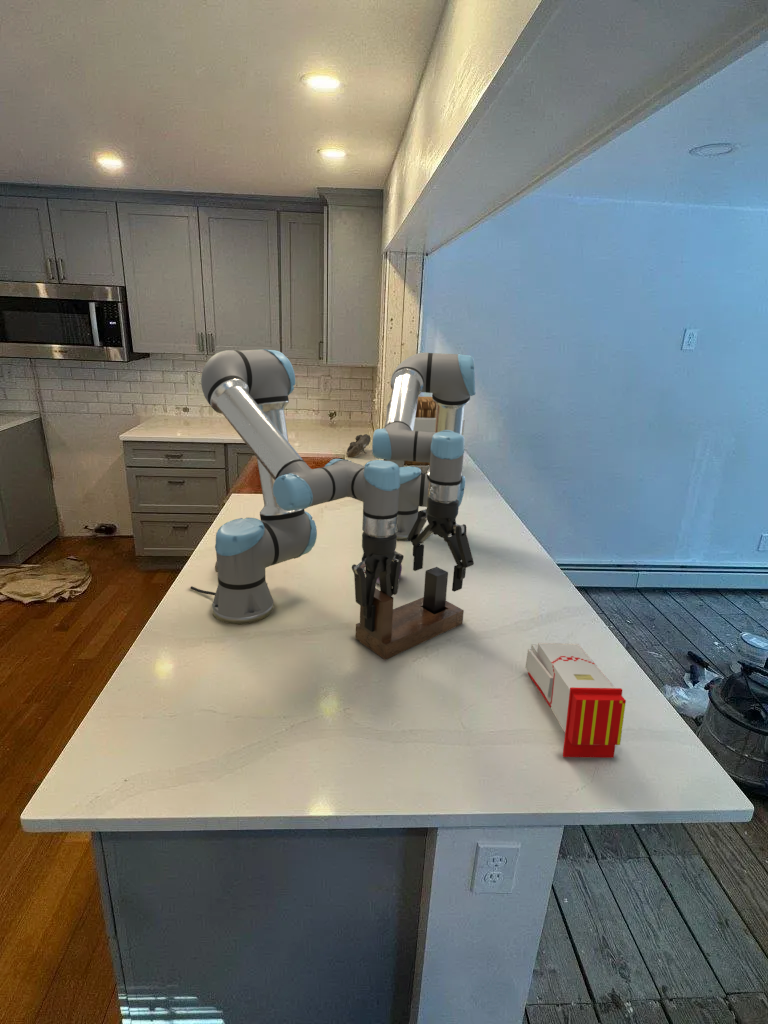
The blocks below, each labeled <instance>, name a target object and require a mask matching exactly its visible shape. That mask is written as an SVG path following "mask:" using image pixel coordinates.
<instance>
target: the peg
mask: <svg viewBox="0 0 768 1024" xmlns="http://www.w3.org/2000/svg"><path fill="white" fill-rule="evenodd" d="M448 579H449V571H446V570H445V569H443V568H441V567H438V566H434V567H432V568H429V569H426V570H425V573H424V586H423V597H424V599H423V608H424V609H426V610H428V611H429V612H431V613H433V614H437V613H439V612H441V611H444V610H445V603H446V601H447V590H448V582H449V581H448Z"/></svg>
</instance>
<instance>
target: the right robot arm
mask: <svg viewBox="0 0 768 1024" xmlns="http://www.w3.org/2000/svg"><path fill="white" fill-rule="evenodd" d="M475 363H476V362H475V358H474V357H473V356H472V355H469V354H461V353H442V352H441V353H437V352H418V353H415V354H413V355H410V356H409V357H407V358H405V359H404V360H403V361H401V362H400V363H399V364H398V365H397V366H396V367H395V369H394V370H393V372H392V375H391V378H390V389H391V395H390V398H389V401H390V403H389V402H388V403H389V408H388V413H387V417H386V416H385V422H384V426H383V428H377V429H375V430H374V431H373V434H372V444H371V445H372V446H371V452H372V456H373V457H374V458H375V459H377V460H384V459H387V460H399V461H416V462H429V463H430V466H429V467H428V469H427V472H422V469H421V468H420V467H419V466H418V467H417V466H404V467H399V469H400V489H399V500H398V520H397V531H396V534H397V540H396V541H408V542H411V544H412V557H413V564H412V571H414V572H416V571H420V570H422V569H423V568H424V555H425V544H424V542H425V541H426V540H427V539H428V538H429V537H430V536H431V535H432V534H433V535H435V536H438V537H440V538H442V539H443V541H444V542H445V543H446V544H447V546H448V548H449V551H450V553H451V556H452V557H453V559H454V562H455V564H456V565H454V566H453V575H452V586H451V591H452V592H454V593H455V592H457V591H459V590H462V589H463V581H464V579H465V578H466V572H467V568H470V567H472V566H474V565H475V562H474V557H473V554H472V550H471V546H470V543H469V539H468V535H467V525H466V524H465V523H463V524H458V523H457V520H456V519H457V517H458V515H459V509H460V506H461V505H462V502H463V497H464V493H465V489H466V477H465V475H463V473H462V472H463V464H464V455H465V451H466V450H465V436H464V435H463V436H462V435H461V433H462V424H463V419H464V412H465V405H467V404H468V403H470V400H471V397H473V396H475V395H476V364H475ZM421 393H426V394H431V397H432V399H433V400H434V401H435V402H436V403H437V405H436V419H435V432H422V431H413V429H414V422H415V416H416V409H417V402H418V397H419V395H421ZM420 507H421V508H422V507H423V508H425V509H421V510H419V508H420ZM427 522H428V524H427V525H426V523H427ZM425 525H426V526H425ZM424 526H425V527H424Z"/></svg>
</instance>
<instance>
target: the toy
mask: <svg viewBox="0 0 768 1024" xmlns="http://www.w3.org/2000/svg"><path fill="white" fill-rule="evenodd" d="M525 669H526V671H527V675H528V676H529V678H530V680H531V681H532V683H533V684H534V685H535V687H536V688H537V690H538V692H539V693H540V694H541V696H542V698H543V699H544V701H545V702H546V703H547V705H548V707H549V708H550V710H551V711H552V714H554V717H555V719H556V720H557V722H558V724H559V725H560V727H561V729H562V731H563V732H564V740H563V747H562V757H563V758H594V759H595V758H599V759H601V758H603V759H604V758H607V759H614V757H615V751H616V746H621V740H622V733H623V725H624V719H625V717H624V716H625V710H626V703H627V700H626V699H625V697H624V696H623V689H622V688H619V687H615V686H614V685H613V683H612V682H611V681H610V680H609V679H608V677H607V676H606V675H605V673H604V672H603V671H602V670H601V669H600V668H599V667H598V666H597V664H596V663H595V662H594V661H593V660H592V658H591V657H590V656H589V655H588V653H586V651H585V650H584V649H583V648H582V646H581V645H580V644H579V643H559V642H558V643H554V642H553V643H552V642H537V643H532V644H531V649H530V648H528V649H527V653H526V661H525Z"/></svg>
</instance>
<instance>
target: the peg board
mask: <svg viewBox="0 0 768 1024" xmlns="http://www.w3.org/2000/svg"><path fill="white" fill-rule="evenodd" d="M393 598H394V597H393ZM393 598H391V597H390V596H388V595H386V594H385V593H383V592H381V591H380V589H378V588H376V587H375V593H374V599H373V605H375V626H374V631H373V632H371V631H369V630H368V629H367V628H365V627H364V623H365V617H363V606H361V605H360V604H359V607H360V608H359V622H357V623H355V635H354V636H355V637H354V639H355V640H356V641H358V642H359V643H360V644H362V645H363V646H364V647H366V648H368V649H369V650H371V651H372V652H373V653H375V654H376V655H377V656H379V657H380V658H381V659H383V660H385V661H386V660H388V659H390V658H392V657H395V656H397V655H399V654H401V653H404V652H406V651H408V650H410V649H412V648H414V647H416V646H418V645H421V644H422V643H425V642H428V641H429V640H431V639H433V638H435V637H438V636H440V635H442V634H444V633H446V632H449V631H450V630H453V629H454V628H457V627H459V626H461V625H463V622H464V611H465V610H464V609H462V608H461V607H459V606H457V605H455V604H453V603H451V602H449V601H448V600H446V603H445V610H444V611H441V612H439V613H437V614H433V613H431V612H429V611H428V610H426V609H424V608H423V599H424V596H423V597H420V598H418V599H415V600H413V601H410V602H408V603H405V604H402V605H400V606H398V607H396V608H394V599H393Z"/></svg>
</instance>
